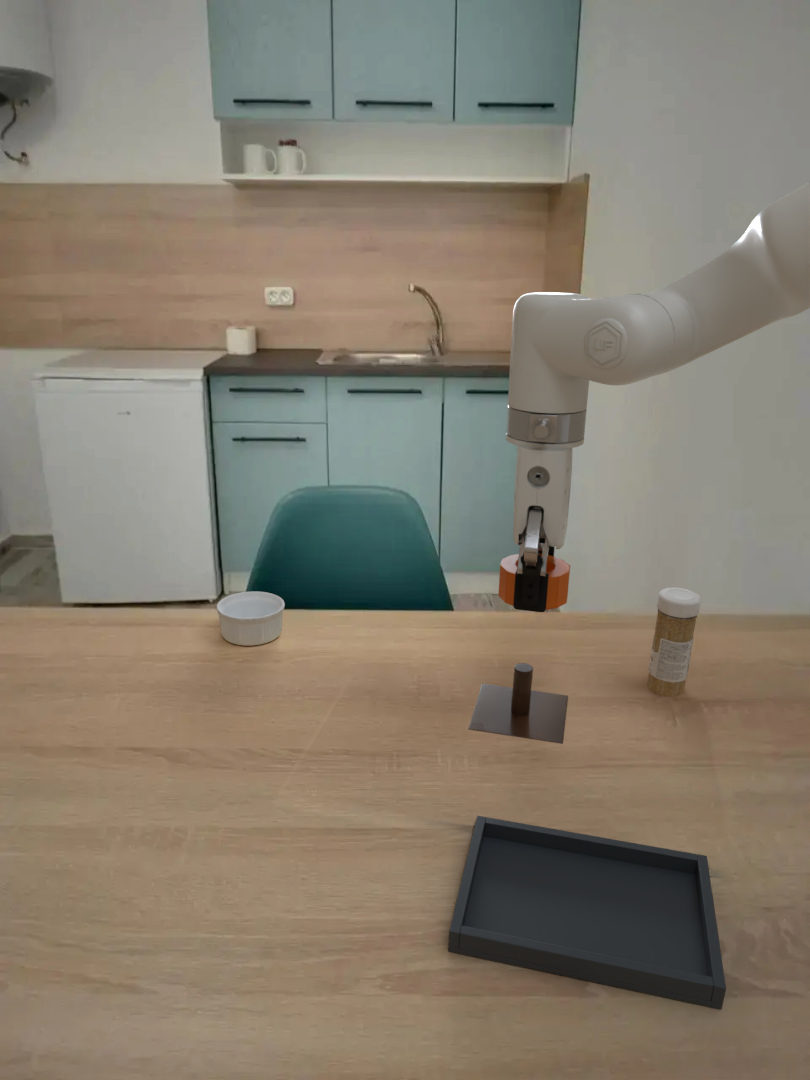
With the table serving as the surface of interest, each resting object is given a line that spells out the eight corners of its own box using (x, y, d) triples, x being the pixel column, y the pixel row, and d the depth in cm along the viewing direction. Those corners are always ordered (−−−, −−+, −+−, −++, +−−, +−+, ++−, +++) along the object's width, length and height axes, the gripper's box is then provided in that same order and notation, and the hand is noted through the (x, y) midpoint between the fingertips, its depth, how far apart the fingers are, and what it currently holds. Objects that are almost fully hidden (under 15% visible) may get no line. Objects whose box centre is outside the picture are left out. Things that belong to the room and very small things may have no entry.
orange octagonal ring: (568, 587, 89) (571, 556, 87) (565, 613, 82) (568, 581, 81) (503, 580, 90) (505, 550, 89) (494, 605, 84) (496, 573, 83)
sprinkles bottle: (648, 684, 101) (663, 583, 96) (687, 694, 99) (704, 591, 94) (640, 702, 97) (655, 597, 92) (680, 712, 95) (698, 605, 90)
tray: (703, 874, 71) (706, 855, 70) (721, 1009, 58) (726, 988, 58) (476, 833, 75) (477, 815, 74) (447, 951, 62) (449, 931, 62)
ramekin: (221, 619, 114) (219, 591, 113) (286, 618, 115) (285, 589, 114) (214, 650, 106) (212, 619, 105) (284, 648, 107) (283, 617, 106)
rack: (567, 706, 96) (572, 652, 93) (561, 755, 86) (568, 697, 84) (481, 694, 98) (484, 640, 95) (467, 741, 88) (470, 683, 86)
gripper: (581, 448, 71) (564, 635, 77) (588, 411, 87) (573, 568, 93) (494, 442, 73) (485, 625, 79) (516, 407, 89) (507, 561, 95)
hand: (533, 593), depth 86 cm, fingers closed on orange octagonal ring, 7 cm apart
